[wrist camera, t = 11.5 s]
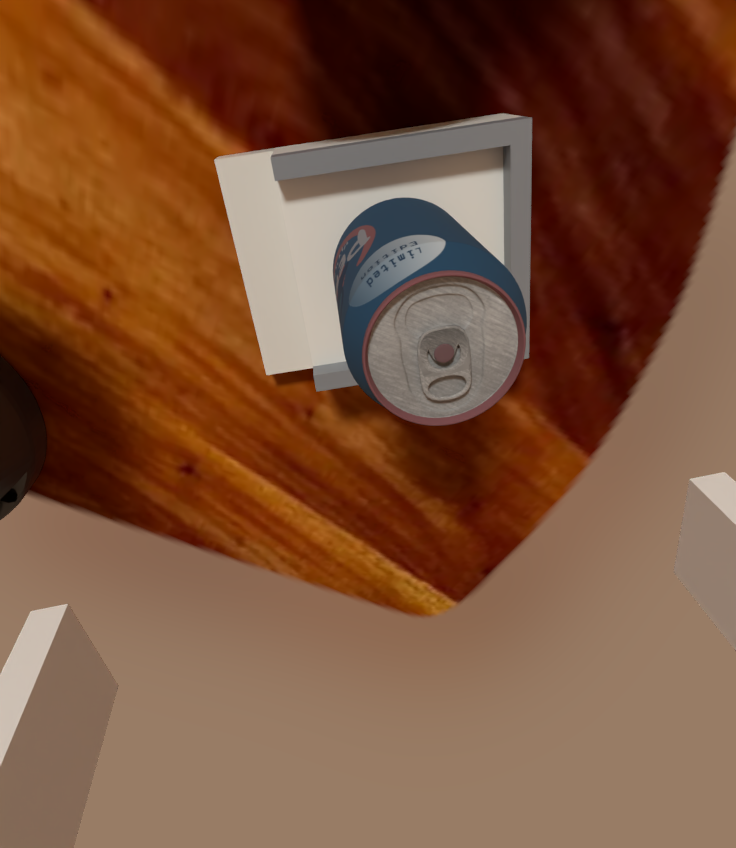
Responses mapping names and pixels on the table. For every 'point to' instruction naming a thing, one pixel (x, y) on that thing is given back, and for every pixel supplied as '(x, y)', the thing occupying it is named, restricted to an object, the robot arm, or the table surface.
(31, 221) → the table surface
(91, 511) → the table surface
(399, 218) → the soda can
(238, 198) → the dock
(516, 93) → the table surface
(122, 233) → the table surface
